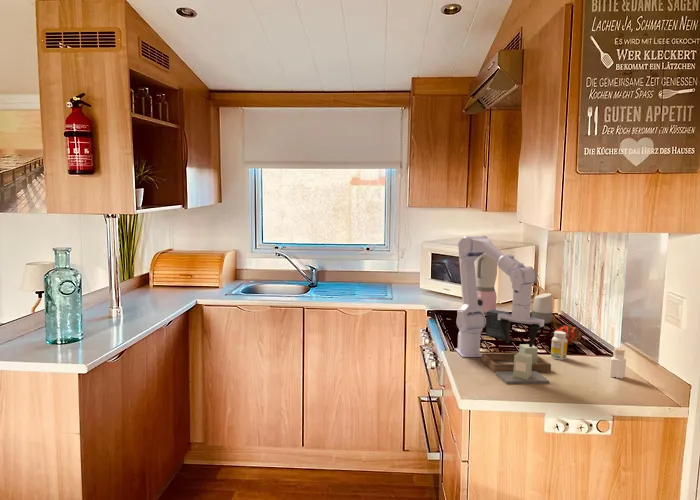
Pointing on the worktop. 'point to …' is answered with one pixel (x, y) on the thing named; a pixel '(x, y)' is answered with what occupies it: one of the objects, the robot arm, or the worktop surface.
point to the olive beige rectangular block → (522, 365)
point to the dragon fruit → (570, 334)
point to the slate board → (509, 378)
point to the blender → (486, 282)
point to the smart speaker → (542, 307)
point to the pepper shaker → (618, 363)
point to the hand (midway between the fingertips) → (518, 344)
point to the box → (494, 324)
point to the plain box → (529, 351)
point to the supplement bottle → (559, 345)
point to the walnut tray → (490, 357)
